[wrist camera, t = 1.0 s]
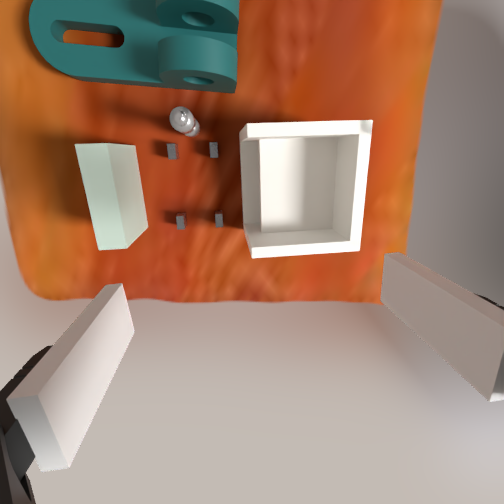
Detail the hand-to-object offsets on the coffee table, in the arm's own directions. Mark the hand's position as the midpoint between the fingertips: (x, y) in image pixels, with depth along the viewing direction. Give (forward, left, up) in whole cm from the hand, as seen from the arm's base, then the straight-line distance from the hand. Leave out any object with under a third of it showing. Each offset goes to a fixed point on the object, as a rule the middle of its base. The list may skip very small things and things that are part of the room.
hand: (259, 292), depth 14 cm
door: (-3, -12, -21) cm, 24 cm away
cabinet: (-3, +6, -21) cm, 22 cm away
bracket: (-17, -8, -21) cm, 28 cm away
